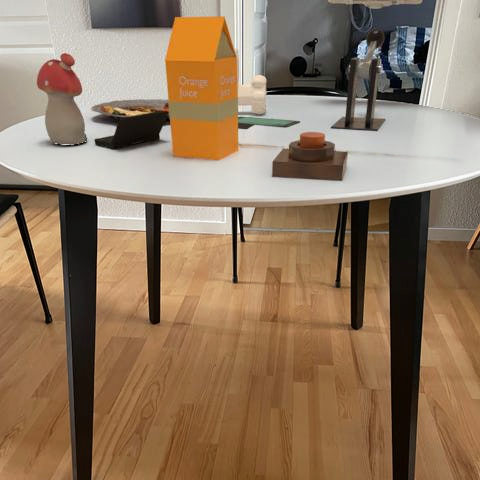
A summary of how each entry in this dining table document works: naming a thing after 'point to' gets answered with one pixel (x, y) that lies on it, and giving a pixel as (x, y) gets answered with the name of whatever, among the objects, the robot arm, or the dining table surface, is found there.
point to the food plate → (131, 107)
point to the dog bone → (254, 94)
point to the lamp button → (312, 139)
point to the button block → (310, 162)
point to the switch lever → (370, 53)
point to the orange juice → (202, 88)
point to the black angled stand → (135, 130)
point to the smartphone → (264, 122)
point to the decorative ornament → (62, 101)
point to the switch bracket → (349, 120)
